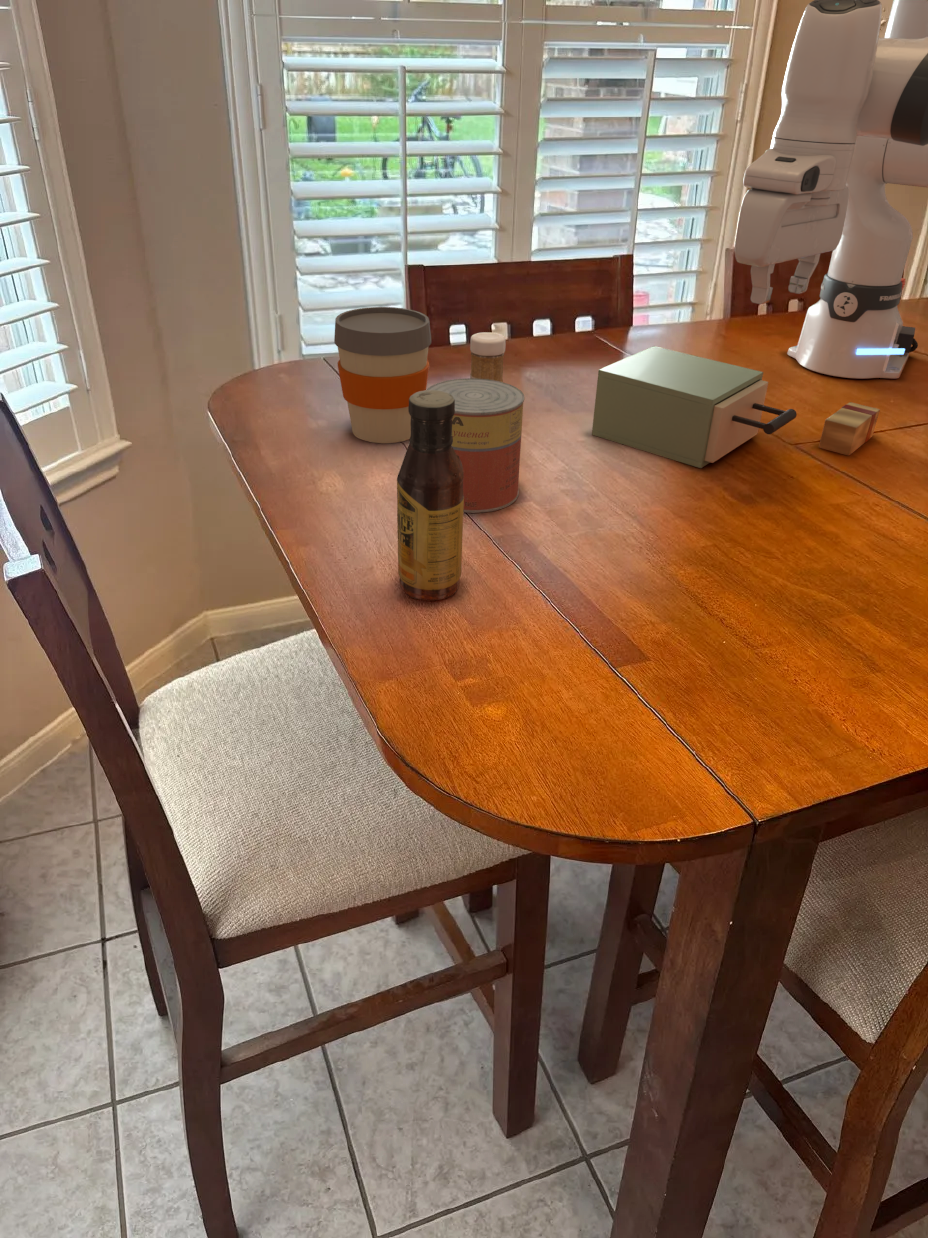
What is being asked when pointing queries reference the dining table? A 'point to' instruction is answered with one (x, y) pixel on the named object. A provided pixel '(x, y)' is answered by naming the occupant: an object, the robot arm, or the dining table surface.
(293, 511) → the dining table surface
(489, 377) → the sprinkles bottle
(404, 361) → the reusable coffee cup
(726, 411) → the drawer
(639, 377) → the cabinet
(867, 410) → the tan and red block
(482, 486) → the canned food
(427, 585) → the sauce bottle
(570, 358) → the dining table surface
